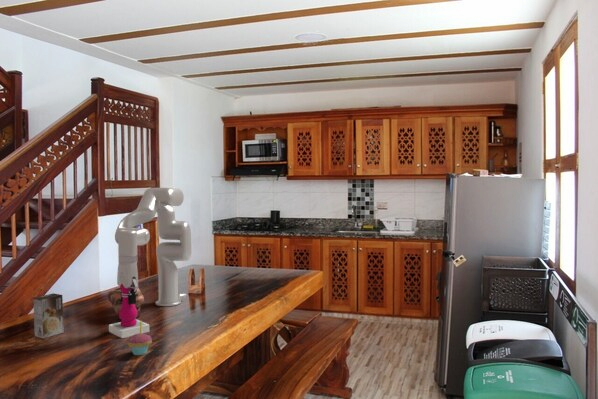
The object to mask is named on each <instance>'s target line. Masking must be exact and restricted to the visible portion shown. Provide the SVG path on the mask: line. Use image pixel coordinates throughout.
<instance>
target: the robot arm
mask: <svg viewBox="0 0 598 399" xmlns="http://www.w3.org/2000/svg"><path fill="white" fill-rule="evenodd" d="M184 197H185V196H184V193H183V191H182V190H181V189H180V188H173V187H149V188H147V189H146V190H144V192H143V194H142V197H141V199H140V201H139V204H138V206H137V208H136V209H134V210H133V211H131V212H130V213H128V214H127V215H125V216H124V217H123V218H121V220H120V222H119V223H118V225H117V228H116V230H115V232H114V233H115V234H114V240H115V242H116V244H118V245H117V249H118V250H117V251H118V252H117V254H118V262H117V263H118V264H117V274H116V275H117V278H116V279H117V280H116V284H117V286H118V287H120V285H121V284H123V285H124V288H129V295H128V304H129V305H131V304H136V294H137V289H138V288H139V271H138V264H137V263H138V246H144V245H146V244H148V242H149V241H150V240H151V235H150V234H151V233H150V231H149V230H148V229H146V228H144V227H135V226H139V225H143V224H145V223H148V222H150V221H153V219H154V218H155V217H156V216H157V231H158V237H159V238H160V239H161V240H166V241H163V242H160V243H159V244H157V246H156V249H155V253H156V258H157V266H158V267H157V268H158V269H157V272H158V274H157V275H158V300H156V301H155V305H156V306H158V307H174V306H178V305H181V303H182V300H181V299H183V298H186V297H187V293H179V290H178V289H179V288H178V286H179V284H178V283H179V281H178V280H179V279H178V278H179V276H178V274H179V273H178V270H179V269H178V267H177V265H176V263H175V262H186V261H189V260H190V259H191V257H192V232H191V226H190V224H189V222H188V221H183V220H176V215H175V213H176V211H175V209H174V207H179V206H181V205H182V204H183V202H184V199H185V198H184ZM156 214H157V215H156ZM167 240H169V241H167ZM131 285H133V286H134V287H130V286H131ZM132 288H133V289H132ZM131 289H132V290H131ZM120 292H121V302H123V297H122V291H121V290H120Z"/></svg>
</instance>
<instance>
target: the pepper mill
mask: <svg viewBox="0 0 598 399" xmlns="http://www.w3.org/2000/svg"><path fill="white" fill-rule="evenodd" d="M130 287H134V286H133V285H131V286H130ZM119 288H120V290H121V291H122V297H123V304H122V307H121V310H120V313H119V317H120V318H121V319H120V320H121V321H120V322H121V326H122V327H131V326H135V325H136V324H137V321H136V319H137V318H138V317H137V315H138V314H137V309H136V307H135V305H134V304H131V305H129V304H128V295H129V288H124V285H123V284H121V285H120V286H119ZM132 289H133V288H132ZM132 289H131V290H132ZM136 317H137V318H136Z"/></svg>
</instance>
